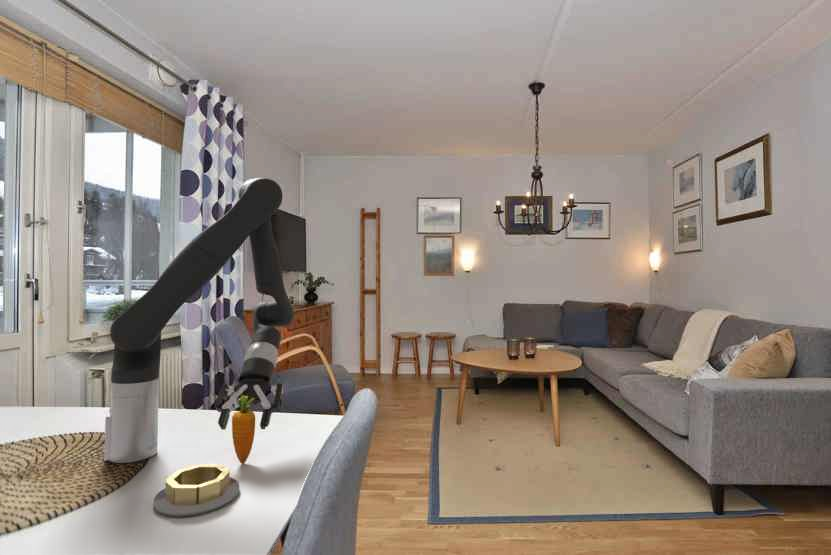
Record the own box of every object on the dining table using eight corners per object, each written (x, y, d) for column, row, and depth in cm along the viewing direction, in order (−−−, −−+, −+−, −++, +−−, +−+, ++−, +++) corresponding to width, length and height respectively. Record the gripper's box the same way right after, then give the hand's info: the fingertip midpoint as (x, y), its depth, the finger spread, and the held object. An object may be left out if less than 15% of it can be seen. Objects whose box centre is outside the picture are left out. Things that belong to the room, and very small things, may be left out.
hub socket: (136, 518, 72) (136, 494, 72) (177, 480, 86) (178, 460, 86) (221, 517, 73) (222, 493, 73) (249, 479, 87) (249, 459, 87)
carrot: (234, 459, 97) (236, 392, 97) (257, 458, 97) (258, 392, 98) (227, 468, 92) (228, 397, 92) (251, 468, 93) (252, 397, 93)
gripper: (225, 356, 103) (203, 419, 91) (286, 356, 104) (272, 419, 92) (233, 373, 108) (213, 436, 96) (291, 373, 109) (278, 435, 97)
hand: (242, 427), depth 94 cm, fingers open, 8 cm apart
